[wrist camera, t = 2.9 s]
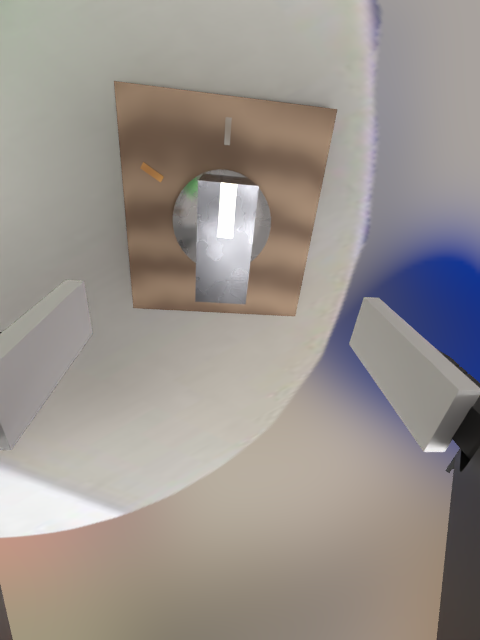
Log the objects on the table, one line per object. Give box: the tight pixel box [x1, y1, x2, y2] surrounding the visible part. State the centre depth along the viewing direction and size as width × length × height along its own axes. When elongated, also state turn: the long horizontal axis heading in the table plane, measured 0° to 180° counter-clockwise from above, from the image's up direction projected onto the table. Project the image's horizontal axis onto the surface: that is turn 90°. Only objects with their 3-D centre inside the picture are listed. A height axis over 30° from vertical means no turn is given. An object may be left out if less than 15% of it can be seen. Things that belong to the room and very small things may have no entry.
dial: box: [173, 169, 271, 304], centre depth 30 cm, size 11×11×12 cm
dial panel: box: [114, 81, 337, 316], centre depth 36 cm, size 24×22×3 cm
